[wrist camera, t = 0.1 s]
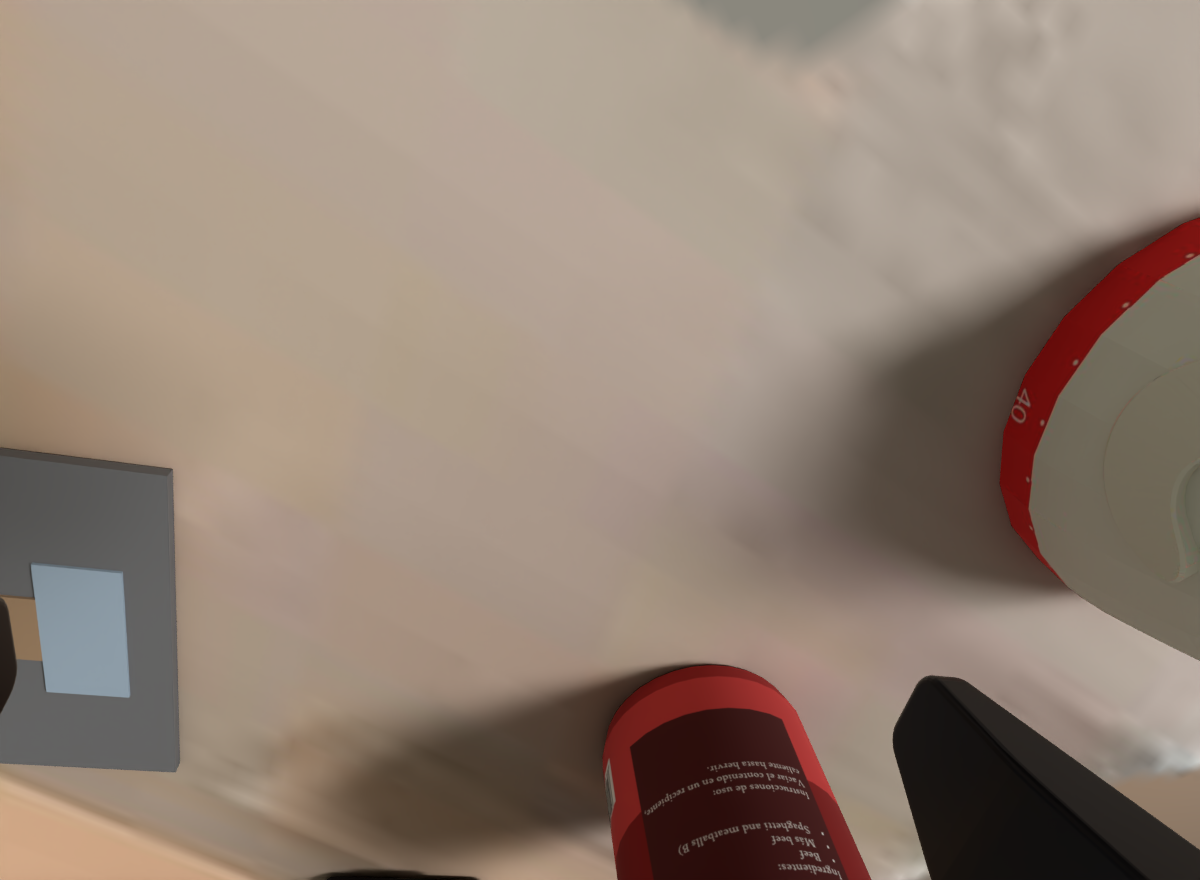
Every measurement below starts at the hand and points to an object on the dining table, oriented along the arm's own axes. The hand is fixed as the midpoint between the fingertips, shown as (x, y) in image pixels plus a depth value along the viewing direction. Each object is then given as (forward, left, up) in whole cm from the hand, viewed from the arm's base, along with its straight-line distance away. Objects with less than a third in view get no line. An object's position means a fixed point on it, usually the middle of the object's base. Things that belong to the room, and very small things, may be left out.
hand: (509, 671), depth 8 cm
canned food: (-16, -10, -15) cm, 24 cm away
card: (-13, +13, -15) cm, 24 cm away
